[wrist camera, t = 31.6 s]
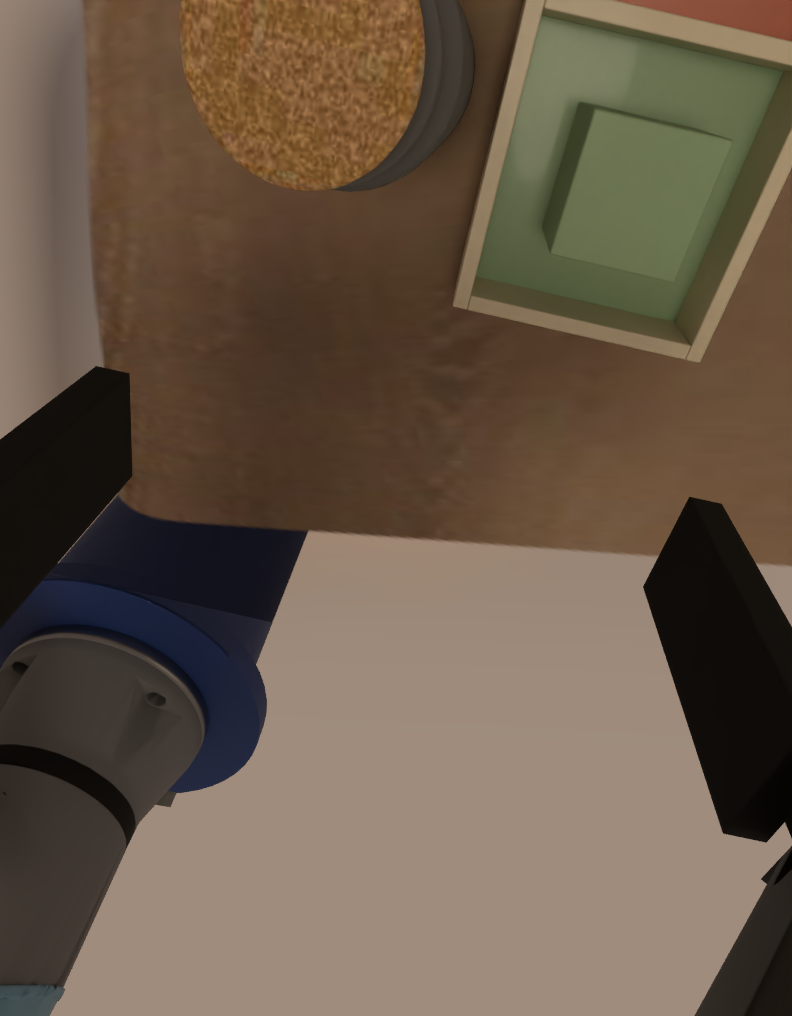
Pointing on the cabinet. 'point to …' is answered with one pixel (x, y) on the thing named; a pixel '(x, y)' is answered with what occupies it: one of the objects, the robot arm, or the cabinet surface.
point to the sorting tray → (647, 92)
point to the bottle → (328, 85)
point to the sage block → (632, 191)
